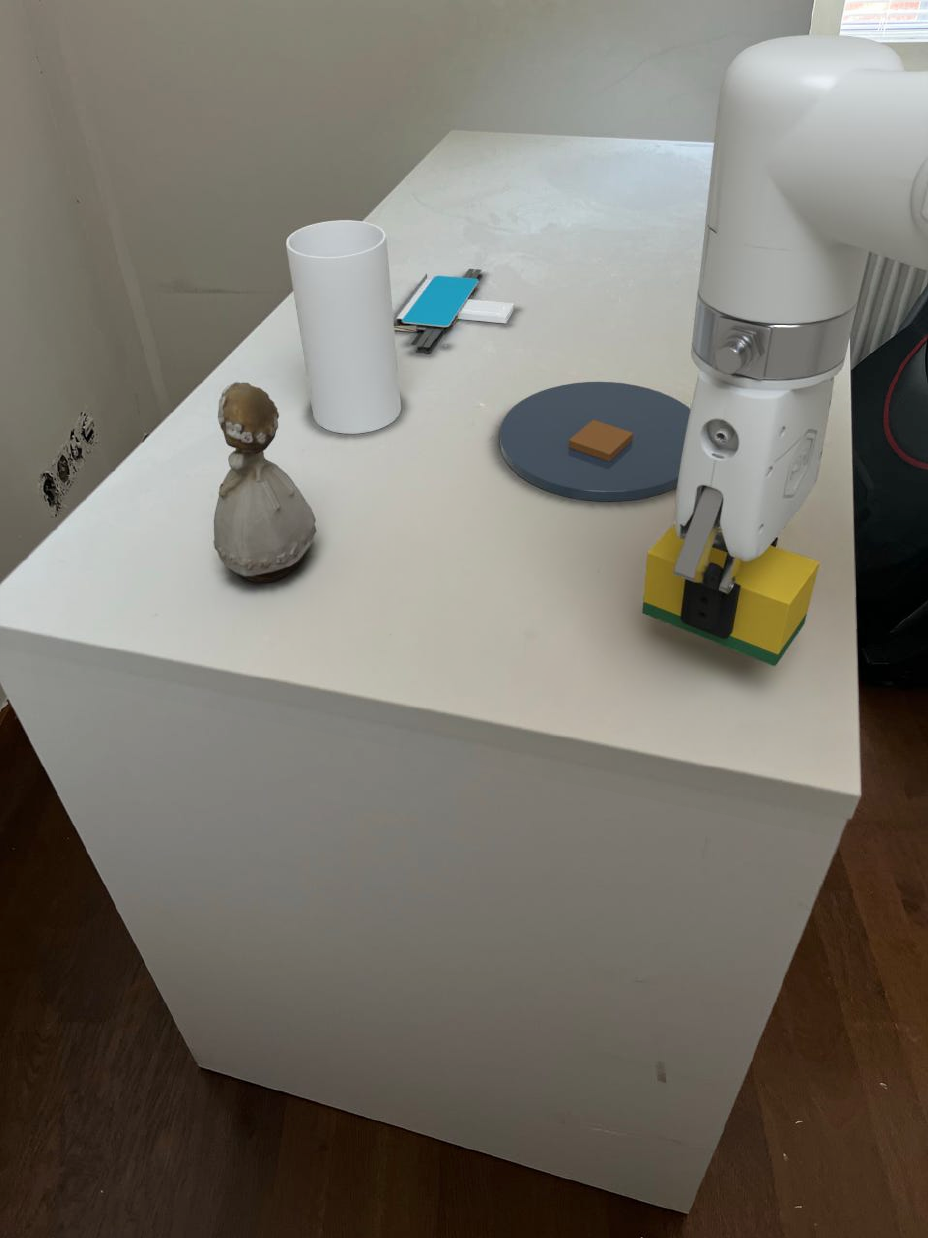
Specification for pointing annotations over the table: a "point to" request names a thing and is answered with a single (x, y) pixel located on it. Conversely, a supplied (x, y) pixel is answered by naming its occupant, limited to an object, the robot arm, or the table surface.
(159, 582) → the table surface
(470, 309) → the phone stand
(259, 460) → the figurine
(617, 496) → the plate
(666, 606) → the sponge
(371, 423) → the cup
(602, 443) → the brown square tile
